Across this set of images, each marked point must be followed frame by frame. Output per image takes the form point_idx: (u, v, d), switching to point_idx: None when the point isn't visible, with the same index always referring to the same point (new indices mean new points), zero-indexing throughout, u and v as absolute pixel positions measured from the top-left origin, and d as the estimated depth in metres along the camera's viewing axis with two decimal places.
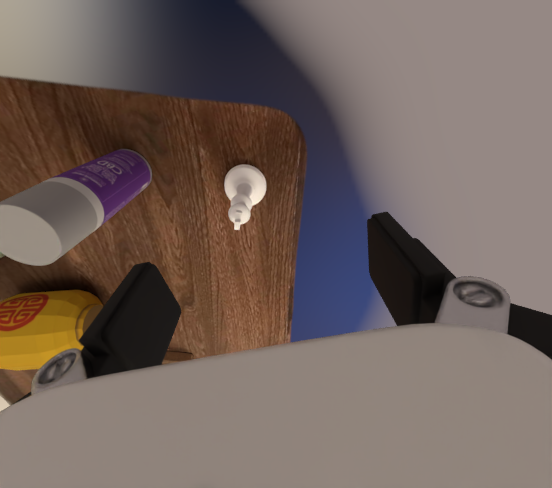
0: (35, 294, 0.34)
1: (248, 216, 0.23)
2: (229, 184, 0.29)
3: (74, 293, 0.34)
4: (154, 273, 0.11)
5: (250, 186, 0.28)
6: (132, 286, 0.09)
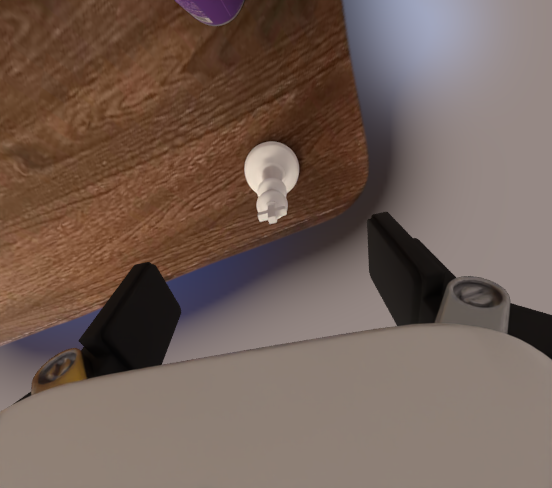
0: None
1: None
2: (267, 152, 0.21)
3: None
4: (154, 273, 0.11)
5: (281, 181, 0.22)
6: (132, 286, 0.09)
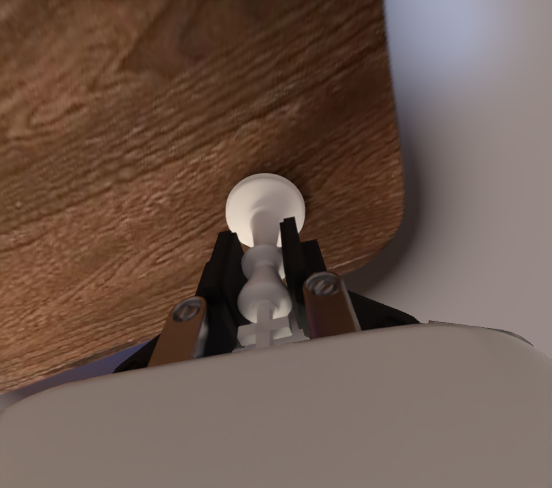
0: None
1: None
2: (259, 190, 0.14)
3: None
4: (237, 240, 0.11)
5: (279, 232, 0.15)
6: (226, 248, 0.10)
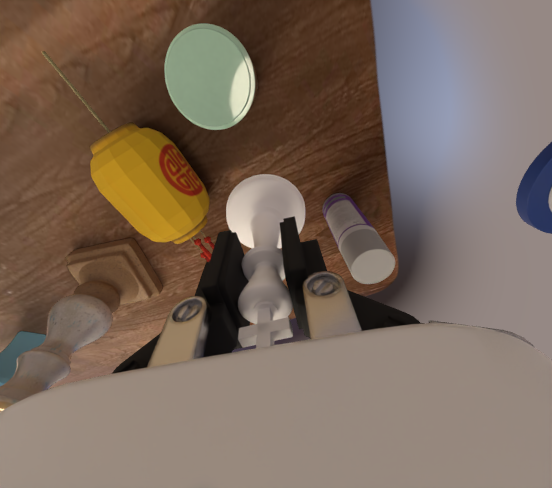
0: (187, 163, 0.31)
1: None
2: (259, 191, 0.14)
3: (208, 197, 0.34)
4: (237, 240, 0.11)
5: (279, 233, 0.15)
6: (226, 249, 0.10)
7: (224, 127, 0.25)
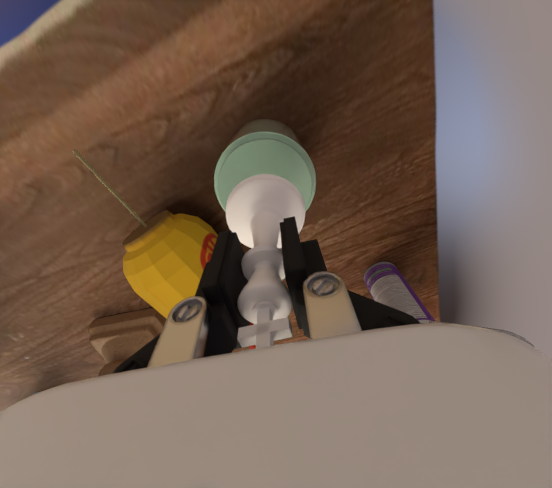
0: None
1: None
2: (259, 191, 0.14)
3: None
4: (237, 240, 0.11)
5: (279, 232, 0.15)
6: (226, 248, 0.10)
7: None
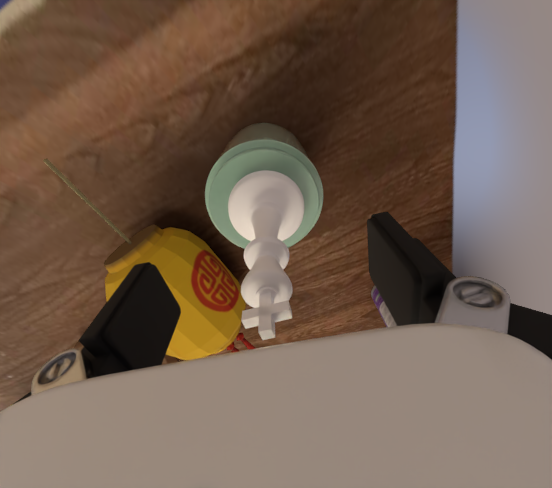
0: (220, 262, 0.26)
1: None
2: (260, 187, 0.15)
3: None
4: (154, 273, 0.11)
5: (279, 226, 0.15)
6: (132, 286, 0.09)
7: None
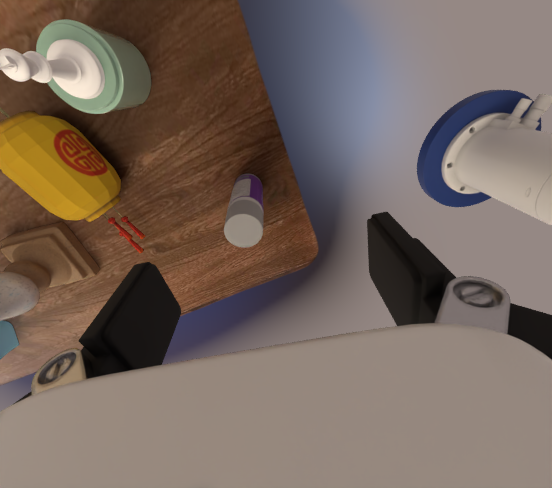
0: (93, 148, 0.35)
1: (21, 78, 0.19)
2: (60, 47, 0.24)
3: (119, 179, 0.37)
4: (154, 273, 0.11)
5: (77, 75, 0.24)
6: (132, 286, 0.09)
7: (104, 111, 0.28)
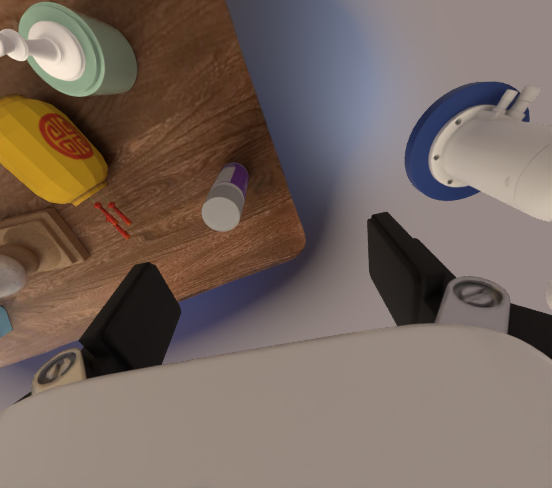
0: (80, 133, 0.35)
1: None
2: (40, 28, 0.24)
3: (106, 164, 0.38)
4: (154, 273, 0.11)
5: (56, 55, 0.25)
6: (132, 286, 0.09)
7: (86, 94, 0.29)
